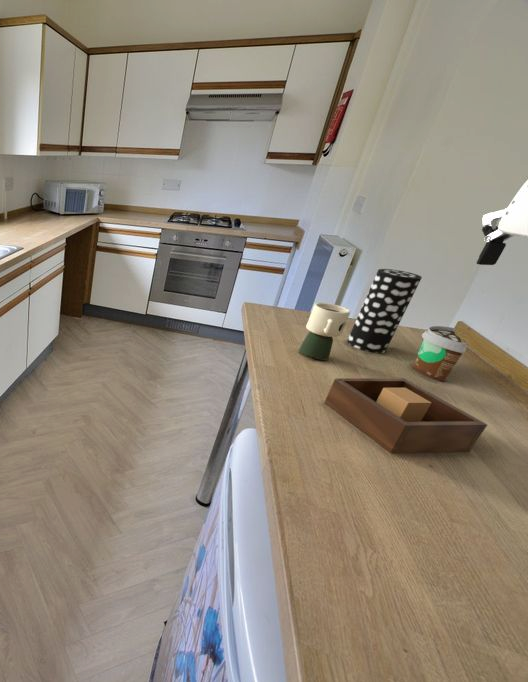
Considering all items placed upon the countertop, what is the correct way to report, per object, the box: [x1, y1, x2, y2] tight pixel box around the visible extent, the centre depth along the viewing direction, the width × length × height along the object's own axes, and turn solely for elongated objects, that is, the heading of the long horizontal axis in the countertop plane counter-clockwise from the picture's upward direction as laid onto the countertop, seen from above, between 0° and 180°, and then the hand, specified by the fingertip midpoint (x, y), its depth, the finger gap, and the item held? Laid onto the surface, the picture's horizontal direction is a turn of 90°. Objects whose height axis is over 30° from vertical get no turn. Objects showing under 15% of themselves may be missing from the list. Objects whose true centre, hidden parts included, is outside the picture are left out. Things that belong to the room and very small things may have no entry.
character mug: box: [298, 302, 351, 361], centre depth 100 cm, size 11×7×13 cm, turn 150°
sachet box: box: [376, 388, 431, 422], centre depth 75 cm, size 4×5×6 cm
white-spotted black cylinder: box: [346, 268, 423, 354], centre depth 105 cm, size 8×8×20 cm
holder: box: [324, 377, 488, 454], centre depth 75 cm, size 15×15×6 cm
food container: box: [412, 325, 469, 383], centre depth 96 cm, size 12×6×10 cm, turn 144°
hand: (515, 271), depth 71 cm, fingers open, 9 cm apart
